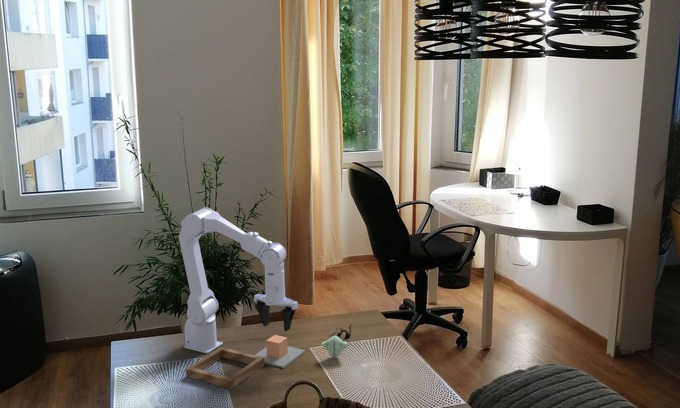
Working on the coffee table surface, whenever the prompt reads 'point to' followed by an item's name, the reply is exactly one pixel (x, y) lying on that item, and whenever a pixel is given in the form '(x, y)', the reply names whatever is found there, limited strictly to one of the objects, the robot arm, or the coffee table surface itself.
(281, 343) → the terracotta block
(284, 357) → the tile
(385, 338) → the coffee table surface
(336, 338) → the pale green pointed piece
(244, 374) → the well frame
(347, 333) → the creature
